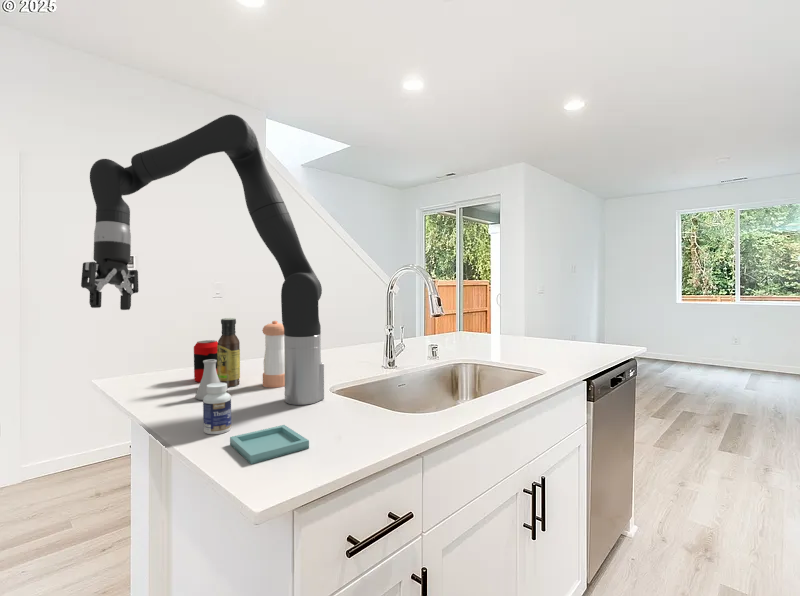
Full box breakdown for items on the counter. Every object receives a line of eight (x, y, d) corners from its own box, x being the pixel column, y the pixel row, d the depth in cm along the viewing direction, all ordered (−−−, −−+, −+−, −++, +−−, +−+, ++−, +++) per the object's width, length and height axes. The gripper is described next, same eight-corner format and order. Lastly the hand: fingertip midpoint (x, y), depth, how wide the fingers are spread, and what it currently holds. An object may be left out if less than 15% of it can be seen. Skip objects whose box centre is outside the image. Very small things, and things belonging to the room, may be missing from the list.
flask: (231, 395, 117) (230, 359, 116) (209, 402, 110) (208, 364, 110) (211, 392, 120) (211, 356, 119) (189, 399, 113) (188, 361, 113)
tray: (284, 431, 89) (284, 424, 89) (309, 448, 81) (308, 440, 81) (230, 444, 83) (230, 437, 82) (251, 464, 74) (250, 455, 74)
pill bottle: (214, 437, 86) (213, 389, 86) (198, 431, 89) (197, 385, 89) (237, 429, 91) (236, 383, 91) (221, 424, 94) (220, 380, 93)
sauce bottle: (214, 384, 128) (213, 318, 127) (235, 381, 132) (234, 317, 131) (222, 389, 123) (221, 319, 122) (243, 385, 127) (242, 318, 126)
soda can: (204, 383, 129) (203, 344, 129) (189, 380, 133) (188, 342, 132) (226, 378, 136) (225, 341, 135) (210, 375, 139) (210, 339, 139)
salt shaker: (284, 387, 125) (283, 322, 124) (259, 387, 125) (258, 322, 124) (290, 381, 132) (290, 319, 131) (267, 381, 132) (266, 319, 131)
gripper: (101, 235, 98) (99, 306, 96) (147, 247, 112) (146, 309, 110) (72, 237, 99) (70, 307, 98) (122, 249, 113) (121, 311, 112)
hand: (111, 308), depth 104 cm, fingers open, 8 cm apart
